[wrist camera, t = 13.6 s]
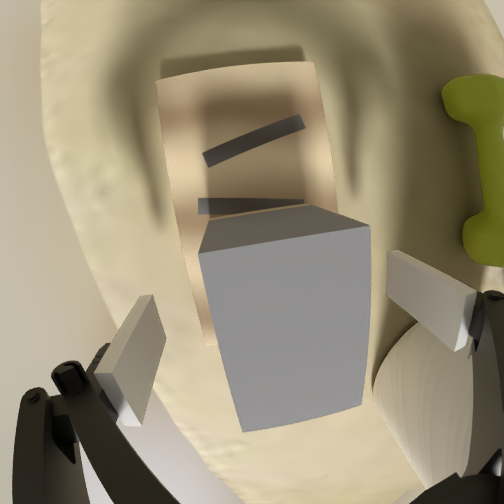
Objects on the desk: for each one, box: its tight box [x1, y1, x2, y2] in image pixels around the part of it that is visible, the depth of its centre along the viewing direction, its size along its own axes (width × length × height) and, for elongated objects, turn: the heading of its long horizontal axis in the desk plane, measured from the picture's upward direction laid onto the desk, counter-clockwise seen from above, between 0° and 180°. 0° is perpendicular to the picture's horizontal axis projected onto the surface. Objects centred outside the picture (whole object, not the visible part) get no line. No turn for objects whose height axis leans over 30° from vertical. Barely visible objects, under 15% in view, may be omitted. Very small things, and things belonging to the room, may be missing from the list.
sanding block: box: [198, 203, 371, 432], centre depth 14 cm, size 9×6×8 cm, turn 8°
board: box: [156, 62, 338, 346], centre depth 18 cm, size 18×10×2 cm, turn 9°
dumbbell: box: [441, 74, 504, 268], centre depth 16 cm, size 16×8×7 cm, turn 14°
